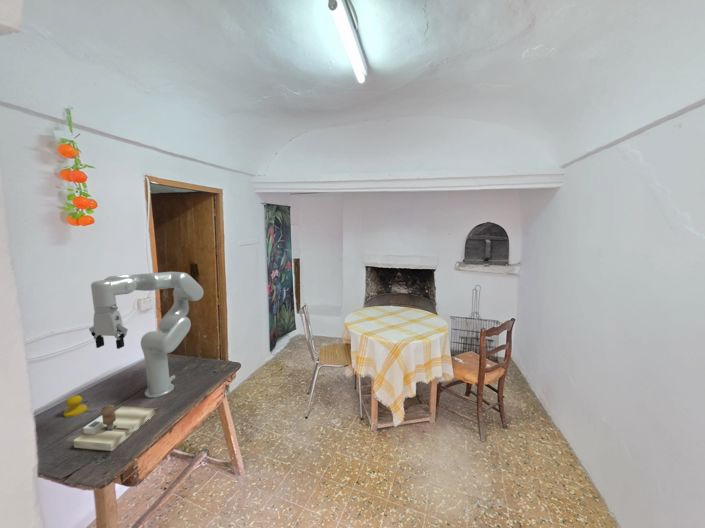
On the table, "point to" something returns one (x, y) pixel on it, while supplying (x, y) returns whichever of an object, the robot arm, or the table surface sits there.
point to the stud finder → (94, 426)
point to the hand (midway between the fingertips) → (110, 347)
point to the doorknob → (74, 406)
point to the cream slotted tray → (116, 429)
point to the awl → (108, 416)
